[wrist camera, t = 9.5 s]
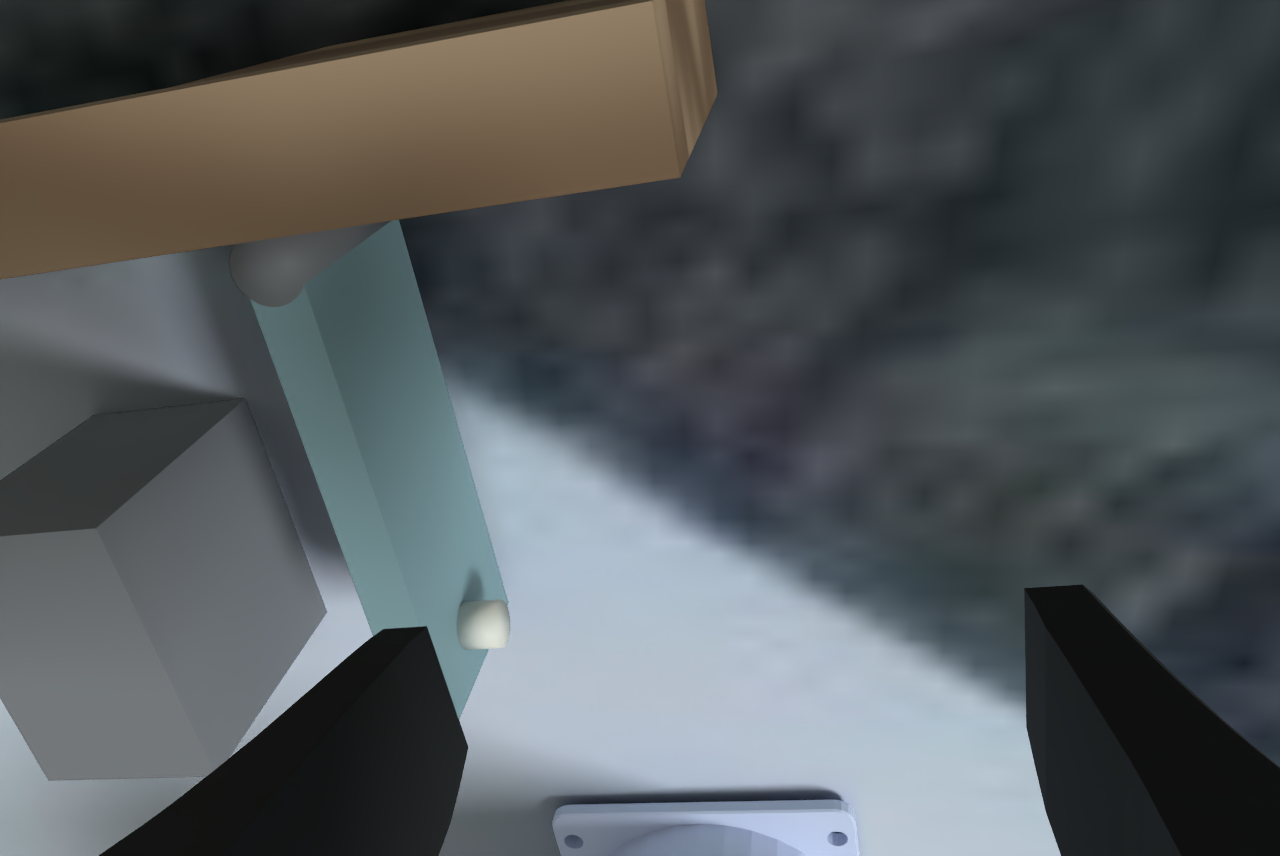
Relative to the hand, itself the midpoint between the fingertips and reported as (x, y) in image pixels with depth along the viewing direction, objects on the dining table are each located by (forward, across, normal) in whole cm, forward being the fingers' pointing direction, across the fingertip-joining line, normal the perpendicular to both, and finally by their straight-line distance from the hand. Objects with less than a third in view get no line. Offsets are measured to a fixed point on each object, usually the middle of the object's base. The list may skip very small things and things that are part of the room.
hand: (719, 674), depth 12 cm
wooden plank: (+9, +11, -6) cm, 16 cm away
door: (+9, +7, 0) cm, 11 cm away
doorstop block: (+10, +13, +2) cm, 17 cm away
